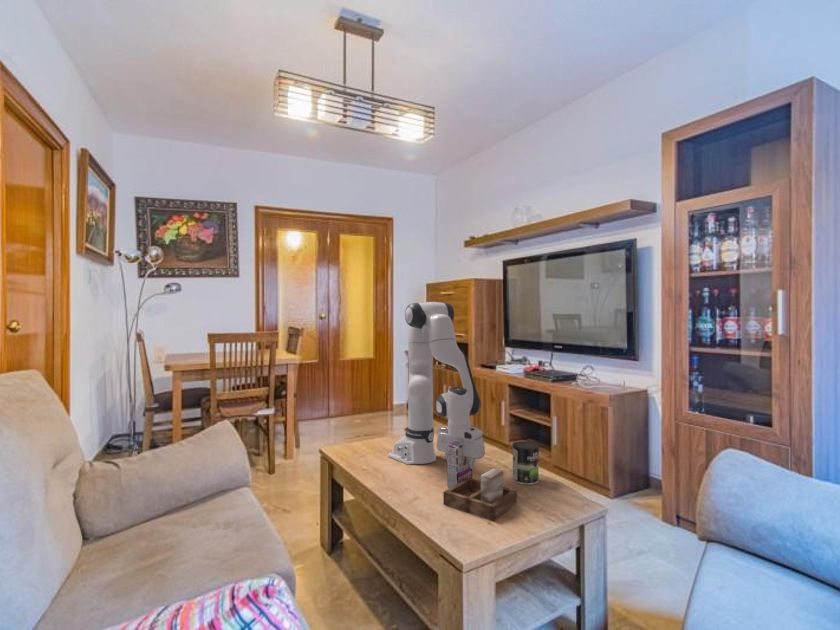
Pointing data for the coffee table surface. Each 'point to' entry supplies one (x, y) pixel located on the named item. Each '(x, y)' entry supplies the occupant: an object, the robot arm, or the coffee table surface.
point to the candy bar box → (457, 465)
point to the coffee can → (525, 462)
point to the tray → (482, 495)
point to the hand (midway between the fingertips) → (460, 465)
